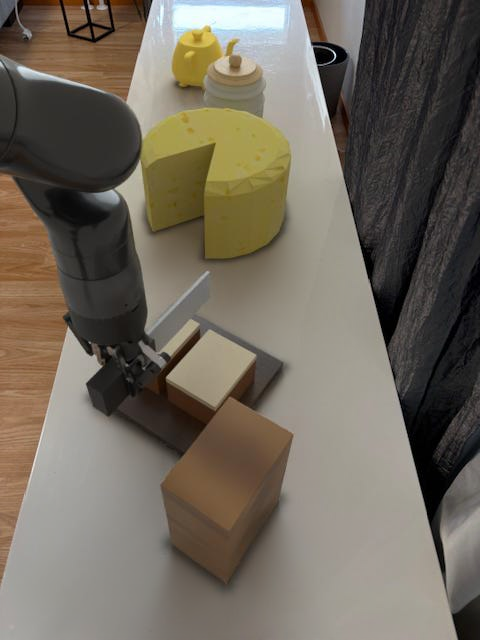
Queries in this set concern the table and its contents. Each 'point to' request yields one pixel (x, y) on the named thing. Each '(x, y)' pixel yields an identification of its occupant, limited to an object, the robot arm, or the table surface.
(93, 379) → the knife
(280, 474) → the stand
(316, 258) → the table surface
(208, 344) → the cream-faced brown block
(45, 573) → the table surface
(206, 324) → the board
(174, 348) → the slice
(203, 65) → the teapot
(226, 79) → the jar
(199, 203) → the cheese
